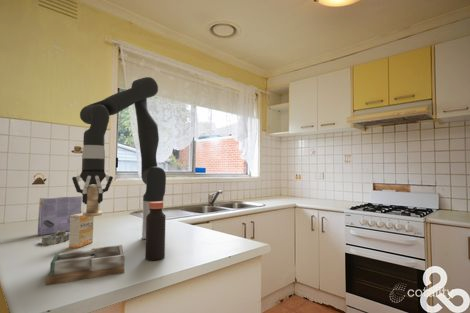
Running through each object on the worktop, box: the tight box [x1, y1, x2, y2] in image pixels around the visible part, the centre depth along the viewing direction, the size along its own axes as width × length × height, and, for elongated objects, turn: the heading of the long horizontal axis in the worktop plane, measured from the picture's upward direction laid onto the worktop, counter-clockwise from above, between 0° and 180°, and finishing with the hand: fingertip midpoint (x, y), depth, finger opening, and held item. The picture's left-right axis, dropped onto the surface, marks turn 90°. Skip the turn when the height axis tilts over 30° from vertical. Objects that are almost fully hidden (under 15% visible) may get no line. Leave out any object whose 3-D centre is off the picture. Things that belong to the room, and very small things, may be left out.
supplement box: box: [68, 212, 95, 249], centre depth 111 cm, size 8×5×13 cm, turn 168°
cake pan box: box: [37, 195, 83, 236], centre depth 134 cm, size 19×5×18 cm, turn 144°
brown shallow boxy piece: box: [45, 244, 125, 286], centre depth 84 cm, size 20×16×5 cm
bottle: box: [144, 201, 167, 262], centre depth 95 cm, size 7×7×20 cm
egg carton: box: [40, 230, 70, 245], centre depth 116 cm, size 11×8×4 cm
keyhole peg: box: [82, 184, 103, 217], centre depth 98 cm, size 6×6×11 cm
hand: (92, 203), depth 98 cm, fingers closed on keyhole peg, 4 cm apart
